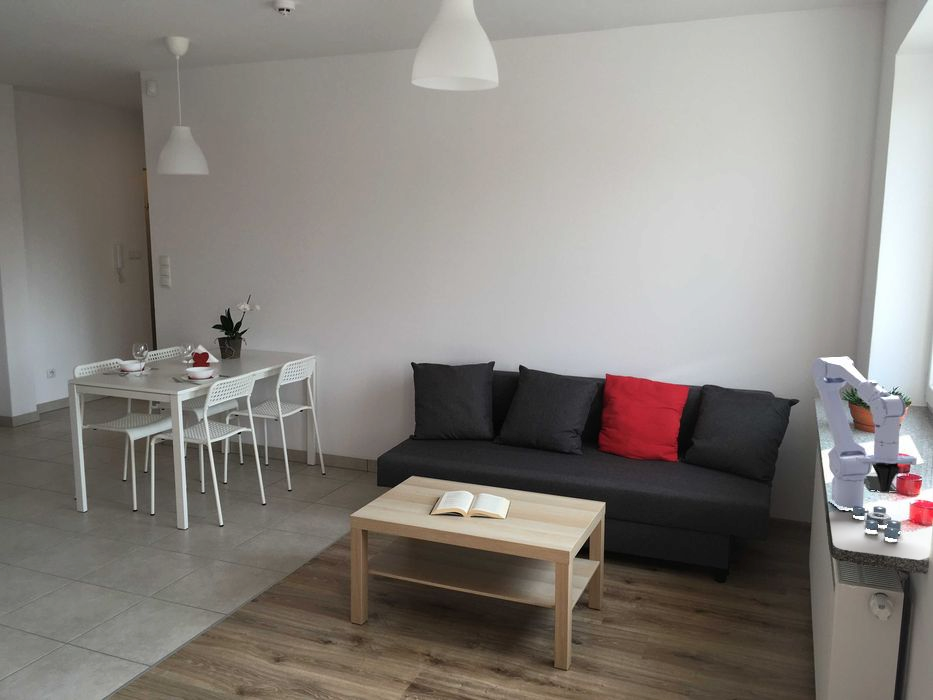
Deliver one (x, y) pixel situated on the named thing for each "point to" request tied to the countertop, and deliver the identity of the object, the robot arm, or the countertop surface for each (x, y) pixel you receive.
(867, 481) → the phone
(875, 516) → the hex nut
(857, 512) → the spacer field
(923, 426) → the countertop surface
